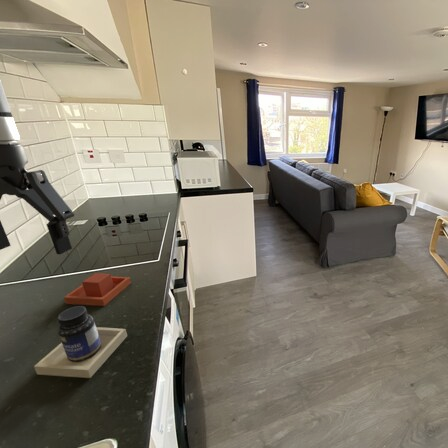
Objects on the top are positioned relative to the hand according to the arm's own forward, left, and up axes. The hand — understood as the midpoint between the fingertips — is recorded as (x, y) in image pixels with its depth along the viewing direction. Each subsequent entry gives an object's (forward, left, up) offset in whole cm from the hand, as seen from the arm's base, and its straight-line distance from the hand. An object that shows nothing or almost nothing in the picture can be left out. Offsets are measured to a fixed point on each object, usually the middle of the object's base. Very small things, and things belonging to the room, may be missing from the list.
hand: (33, 250), depth 54 cm
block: (-7, +19, -24) cm, 32 cm away
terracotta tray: (-7, +19, -25) cm, 32 cm away
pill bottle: (+7, -3, -24) cm, 26 cm away
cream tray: (+7, -3, -25) cm, 26 cm away
